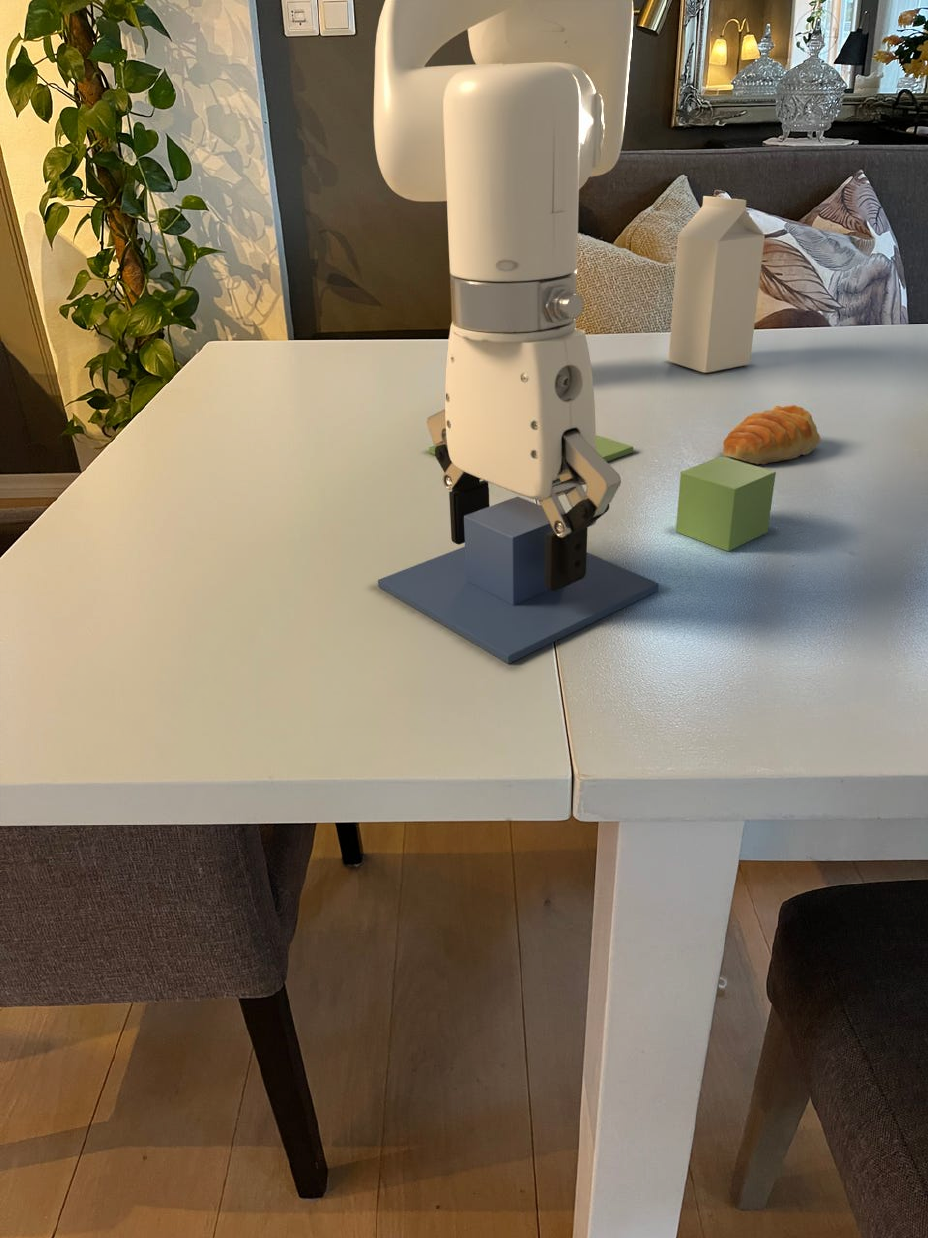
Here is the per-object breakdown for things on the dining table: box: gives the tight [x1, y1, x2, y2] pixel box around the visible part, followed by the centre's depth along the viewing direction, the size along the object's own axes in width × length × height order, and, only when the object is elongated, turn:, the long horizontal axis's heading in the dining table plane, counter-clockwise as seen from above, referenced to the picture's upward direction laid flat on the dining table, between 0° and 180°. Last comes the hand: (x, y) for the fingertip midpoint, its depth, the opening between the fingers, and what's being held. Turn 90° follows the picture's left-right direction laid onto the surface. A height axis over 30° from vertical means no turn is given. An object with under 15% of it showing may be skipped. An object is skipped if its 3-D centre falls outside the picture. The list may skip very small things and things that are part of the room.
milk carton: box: [668, 195, 766, 374], centre depth 110 cm, size 7×7×19 cm
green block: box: [675, 455, 777, 552], centre depth 71 cm, size 5×5×5 cm
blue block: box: [464, 496, 553, 605], centre depth 63 cm, size 5×5×5 cm
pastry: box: [722, 404, 821, 466], centre depth 86 cm, size 9×7×4 cm
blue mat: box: [377, 546, 660, 665], centre depth 65 cm, size 14×14×1 cm
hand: (515, 559), depth 64 cm, fingers open, 9 cm apart
